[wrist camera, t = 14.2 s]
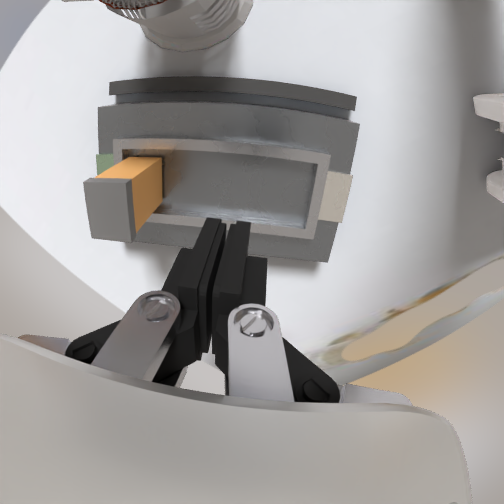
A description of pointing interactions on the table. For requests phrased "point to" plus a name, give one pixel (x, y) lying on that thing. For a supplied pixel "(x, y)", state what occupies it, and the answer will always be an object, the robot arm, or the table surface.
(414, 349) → the table surface
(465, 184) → the table surface
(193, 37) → the french press
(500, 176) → the cable organizer
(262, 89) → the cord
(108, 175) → the lever
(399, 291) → the table surface
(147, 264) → the table surface
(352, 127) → the panel
